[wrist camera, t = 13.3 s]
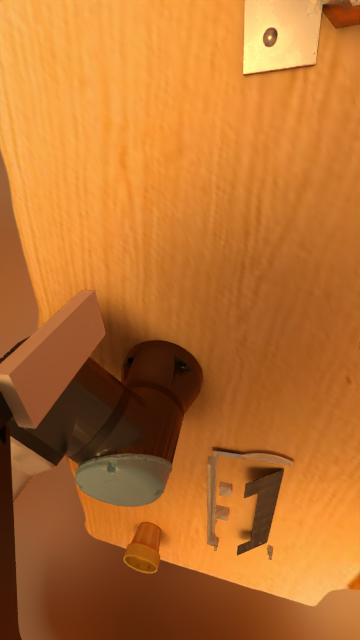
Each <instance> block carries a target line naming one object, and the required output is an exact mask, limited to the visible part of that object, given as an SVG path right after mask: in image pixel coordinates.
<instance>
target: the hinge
mask: <svg viewBox="0 0 360 640" xmlns="http://www.w3.org/2000/svg"><path fill="white" fill-rule="evenodd" d="M322 11H323V12H324V13H325V15H326V16H327V17H328V19H329V20H330V21H331V23H332V24H333V25H334V26H335V28H339V27H345V26H351V25H357V24H360V0H245V18H244V69H243V75H251V74H258V73H265V72H272V71H279V70H286V69H293V68H300V67H307V66H314V65H315V64H316V56H317V48H318V39H319V30H320V22H321V13H322Z"/></svg>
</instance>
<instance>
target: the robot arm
mask: <svg viewBox="0 0 360 640" xmlns="http://www.w3.org/2000/svg"><path fill="white" fill-rule="evenodd" d="M105 334H106V332H105V328H104V324H103V320H102V316H101V313H100V309H99V305H98V301H97V297H96V293H95V290H81V291H80V292H79V293H78V294H77V295H76V296H75V297H73V298H72V299H71V300H70V301H69V302H68V303H67V304H66V305H65V306H64V307H62V308H61V309H60V310H59V311H58V312H57V313H56V314H55V315H54V316H52V317H51V318H50V319H49V320H48V321H47V322H46V323H45V324H44V325H43V326H41V327H40V328H39V329H38V330H37V331H36V332H35V333H34V334H33V335H32V336H30V337H28V338H26V339H24V340H22V341H21V342H19V343H18V344H17V345H15V346H14V347H13V348H12V349H11V350H10V352H7V353H6V354H5V355H4V357H3V358H1V359H0V640H22V639H21V637H20V633H19V627H18V610H17V585H16V561H15V537H14V513H13V503H14V501H15V500H16V498H17V497H18V496H19V495H20V493H21V492H22V491H23V489H24V488H25V487H26V485H27V484H28V483H29V481H30V480H31V479H32V477H33V476H34V475H36V474H38V473H40V472H44V471H48V470H52V469H54V468H55V467H56V466H57V465H58V463H59V462H60V460H61V459H62V458H63V456H65V455H66V456H68V457H69V458H70V459H72V460H73V461H75V462H76V463H78V464H79V466H78V468H77V470H76V477H75V479H76V483H77V485H79V488H80V489H81V490H82V491H83V492H84V493H86V494H87V495H89V496H91V497H93V498H95V499H97V500H99V501H102V502H105V503H109V504H113V505H118V506H129V507H134V506H143V505H147V504H150V503H152V502H154V501H155V500H157V499H158V498H159V497H160V496H161V495H162V493H163V492H164V489H165V486H166V483H167V480H168V478H169V475H170V473H171V471H172V462H173V458H174V454H175V450H176V446H177V442H178V438H179V433H180V429H181V425H182V421H183V417H184V414H185V413H186V411H187V410H188V409H189V407H190V406H191V405H192V403H193V402H194V400H195V399H196V398H197V396H198V394H199V392H200V388H201V383H202V372H201V368H200V366H199V364H198V362H197V361H196V360H195V358H194V357H193V356H192V355H191V354H190V353H188V352H187V351H186V350H184V349H183V348H181V347H179V346H177V345H175V344H172V343H169V342H164V341H148V342H144V343H141V344H139V345H137V346H135V347H134V348H133V349H132V350H131V351H130V352H129V354H128V355H127V357H126V359H125V361H124V363H123V366H122V373H121V382H120V381H119V380H117V379H116V378H115V377H114V376H112V375H111V374H110V373H109V372H108V371H106V370H105V369H104V368H103V367H101V366H100V365H99V364H98V363H97V362H95V361H94V360H93V359H92V358H90V357H89V356H90V355H91V353H92V352H93V350H94V349H95V348H96V346H97V345H98V344H99V342H100V341H101V340H102V338H103V337H104V336H105ZM359 348H360V343H359Z"/></svg>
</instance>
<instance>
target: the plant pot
mask: <svg viewBox="0 0 360 640" xmlns="http://www.w3.org/2000/svg"><path fill="white" fill-rule="evenodd" d="M159 544H160V529H159V527H157V526H156V525H154V524H152V523H147V522H144V523H141V524H140V526H139V528H138V530H137V532H136V534H135V536H134V538H133V540H132V542H131V544H129V545H128V546H127V549H126V552H125V555H124V562H125V563H126V564H127V565H128V566H129V567H131V568H133V569H135V570H138V571H140V572H144V573H155V572H156V571H157V570H158V566H159V561H160V555H159Z"/></svg>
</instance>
